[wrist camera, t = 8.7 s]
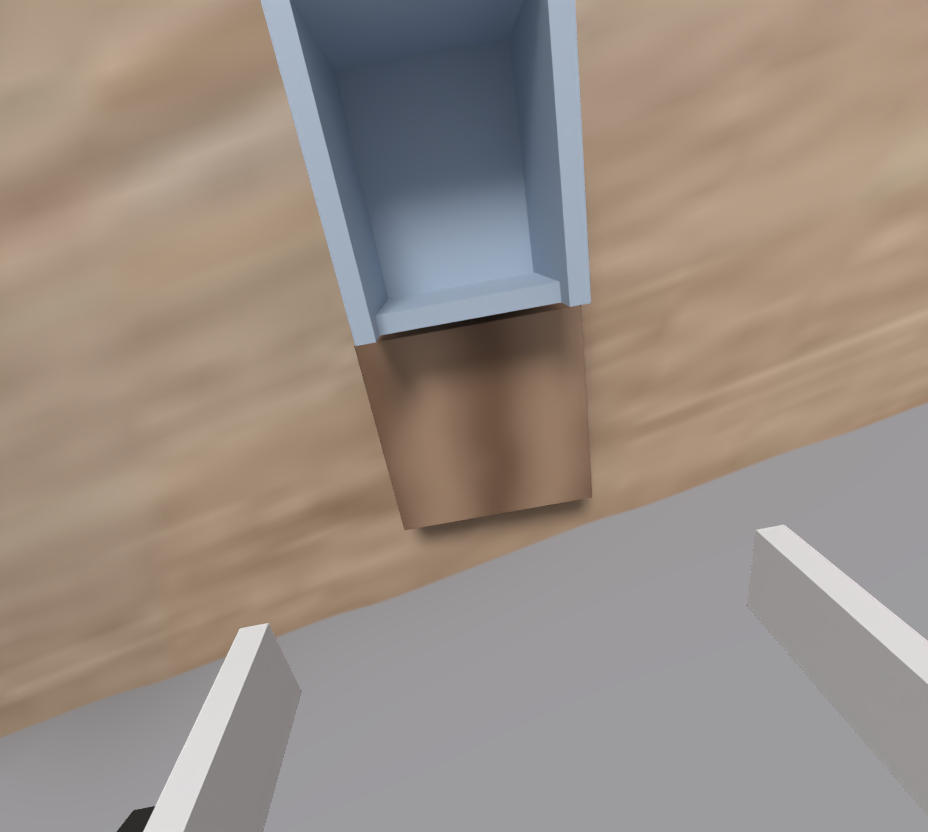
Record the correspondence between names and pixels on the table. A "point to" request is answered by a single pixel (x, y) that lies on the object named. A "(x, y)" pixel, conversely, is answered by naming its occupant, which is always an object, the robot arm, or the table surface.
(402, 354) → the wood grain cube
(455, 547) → the table surface
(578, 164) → the slide box
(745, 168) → the table surface
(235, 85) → the table surface
